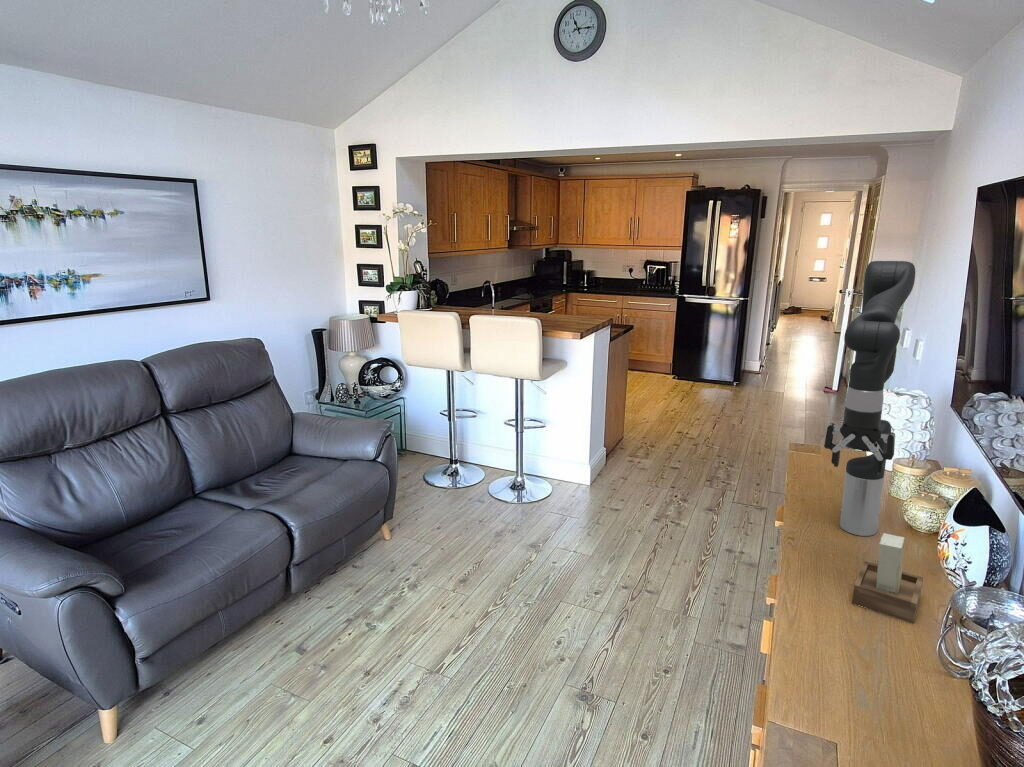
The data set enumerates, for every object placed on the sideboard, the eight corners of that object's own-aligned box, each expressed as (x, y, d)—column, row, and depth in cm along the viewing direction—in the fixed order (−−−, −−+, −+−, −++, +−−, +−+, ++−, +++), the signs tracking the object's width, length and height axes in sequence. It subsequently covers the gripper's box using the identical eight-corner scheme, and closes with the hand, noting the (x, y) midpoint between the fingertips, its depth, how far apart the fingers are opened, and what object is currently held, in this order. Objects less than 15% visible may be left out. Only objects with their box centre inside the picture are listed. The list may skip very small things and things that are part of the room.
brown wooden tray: (861, 580, 146) (864, 560, 145) (919, 597, 139) (923, 577, 137) (851, 605, 137) (854, 584, 136) (913, 625, 130) (916, 604, 128)
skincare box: (897, 597, 133) (902, 549, 130) (874, 591, 135) (878, 543, 133) (901, 583, 137) (905, 537, 134) (879, 578, 140) (883, 532, 137)
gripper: (901, 406, 136) (892, 470, 140) (833, 397, 144) (826, 458, 149) (897, 415, 130) (888, 482, 134) (826, 405, 139) (819, 468, 143)
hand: (855, 469), depth 142 cm, fingers open, 8 cm apart
